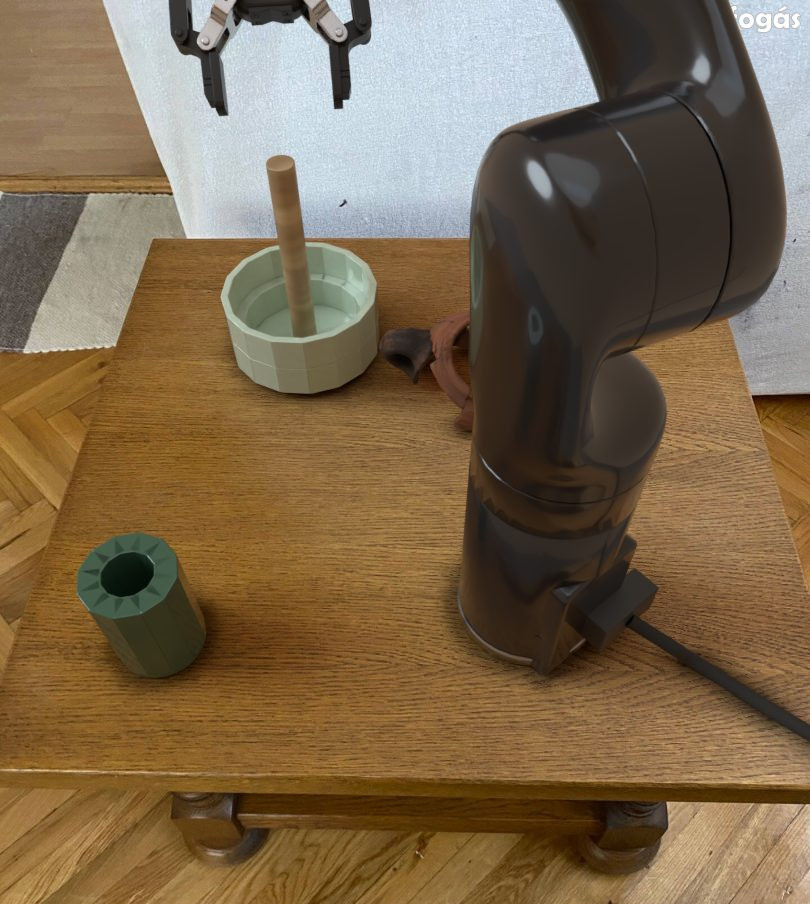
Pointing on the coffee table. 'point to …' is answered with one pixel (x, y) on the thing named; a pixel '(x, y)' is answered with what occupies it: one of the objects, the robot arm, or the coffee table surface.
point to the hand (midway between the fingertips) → (280, 109)
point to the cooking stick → (292, 243)
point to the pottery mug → (418, 346)
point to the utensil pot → (142, 604)
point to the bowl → (270, 330)
